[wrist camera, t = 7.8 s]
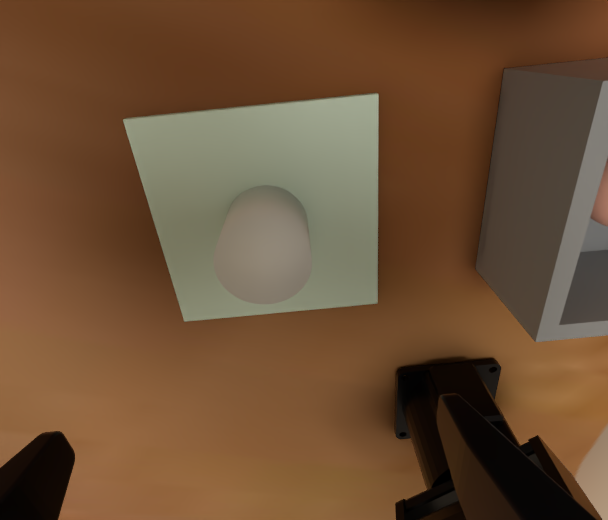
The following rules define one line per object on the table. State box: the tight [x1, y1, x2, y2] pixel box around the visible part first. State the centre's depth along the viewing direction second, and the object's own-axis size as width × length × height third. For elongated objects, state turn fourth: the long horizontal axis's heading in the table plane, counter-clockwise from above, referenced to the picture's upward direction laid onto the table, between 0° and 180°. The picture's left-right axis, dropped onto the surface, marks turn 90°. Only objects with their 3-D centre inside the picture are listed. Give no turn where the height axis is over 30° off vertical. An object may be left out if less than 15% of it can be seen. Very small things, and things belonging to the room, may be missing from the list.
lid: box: [123, 93, 378, 322], centre depth 18 cm, size 11×11×5 cm
